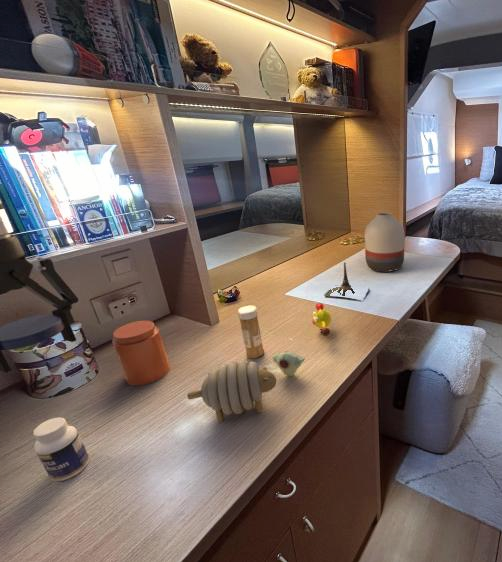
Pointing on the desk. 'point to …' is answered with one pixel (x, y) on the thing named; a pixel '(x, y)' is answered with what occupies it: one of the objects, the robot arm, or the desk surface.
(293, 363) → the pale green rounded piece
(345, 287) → the eiffel tower figurine
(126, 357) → the jar
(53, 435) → the pill bottle
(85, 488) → the desk surface
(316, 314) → the toy figure
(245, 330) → the sprinkles bottle
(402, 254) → the vase
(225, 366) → the toy sheep
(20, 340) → the jar lid
